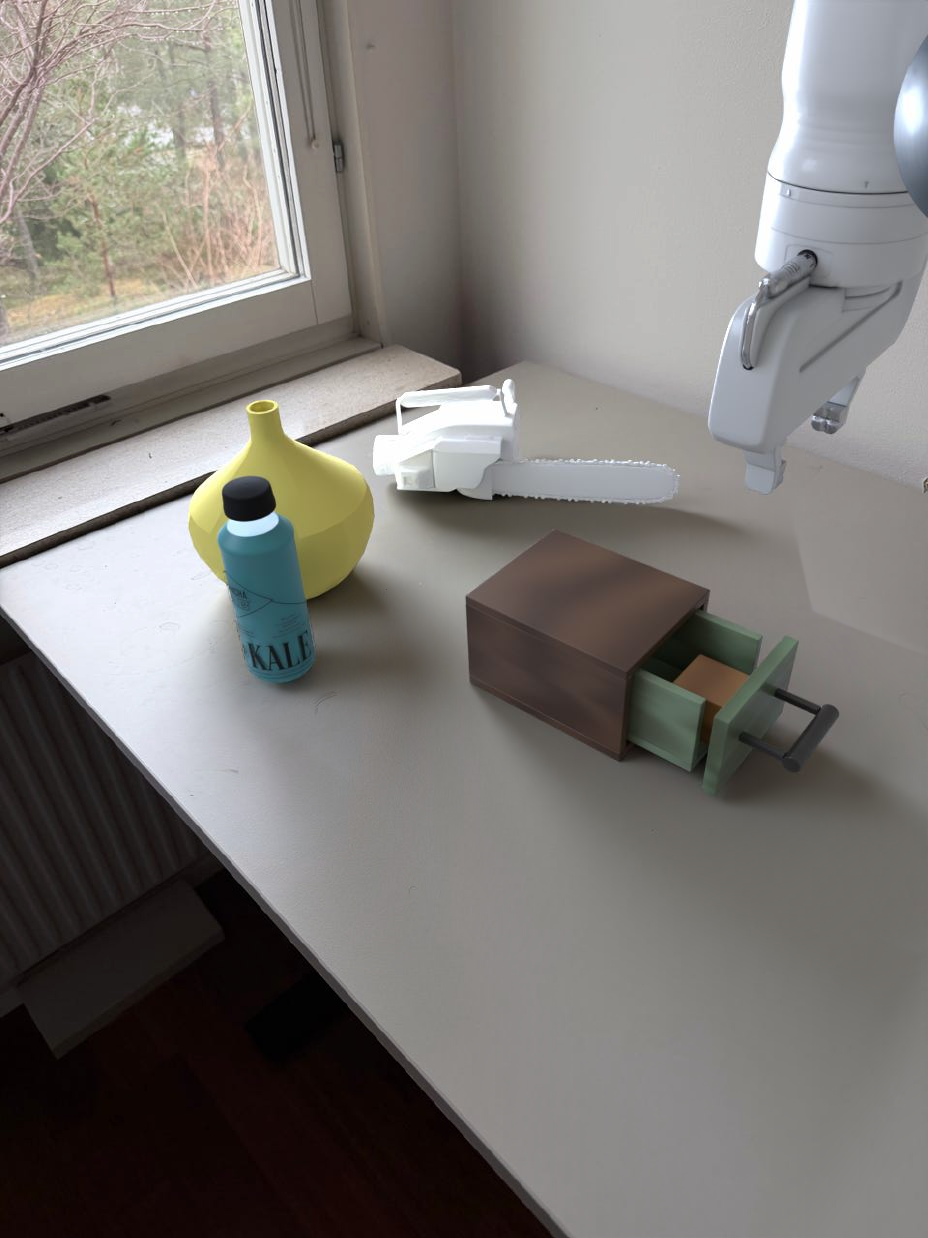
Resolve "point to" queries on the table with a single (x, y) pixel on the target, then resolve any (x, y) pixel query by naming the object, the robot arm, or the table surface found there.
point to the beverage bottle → (265, 582)
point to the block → (710, 687)
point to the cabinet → (573, 634)
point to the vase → (292, 502)
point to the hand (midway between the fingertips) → (796, 456)
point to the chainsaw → (501, 455)
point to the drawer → (676, 714)
